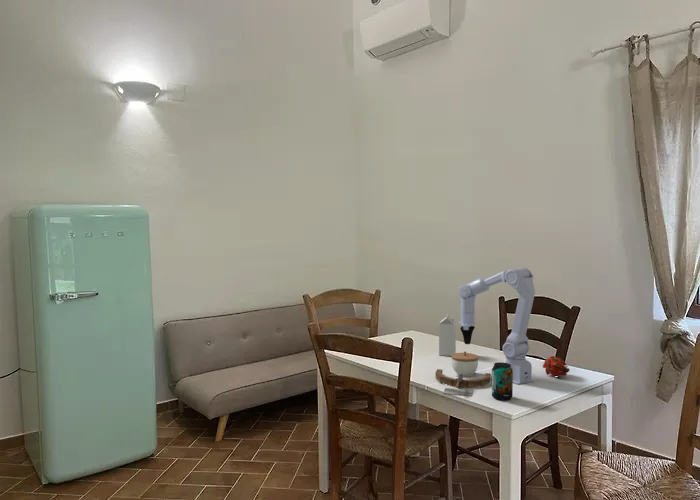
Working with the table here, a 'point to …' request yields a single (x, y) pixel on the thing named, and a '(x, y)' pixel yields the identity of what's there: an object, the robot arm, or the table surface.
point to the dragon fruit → (555, 366)
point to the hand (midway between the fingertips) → (467, 343)
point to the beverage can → (502, 381)
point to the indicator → (459, 380)
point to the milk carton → (447, 336)
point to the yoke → (466, 383)
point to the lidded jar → (464, 363)
